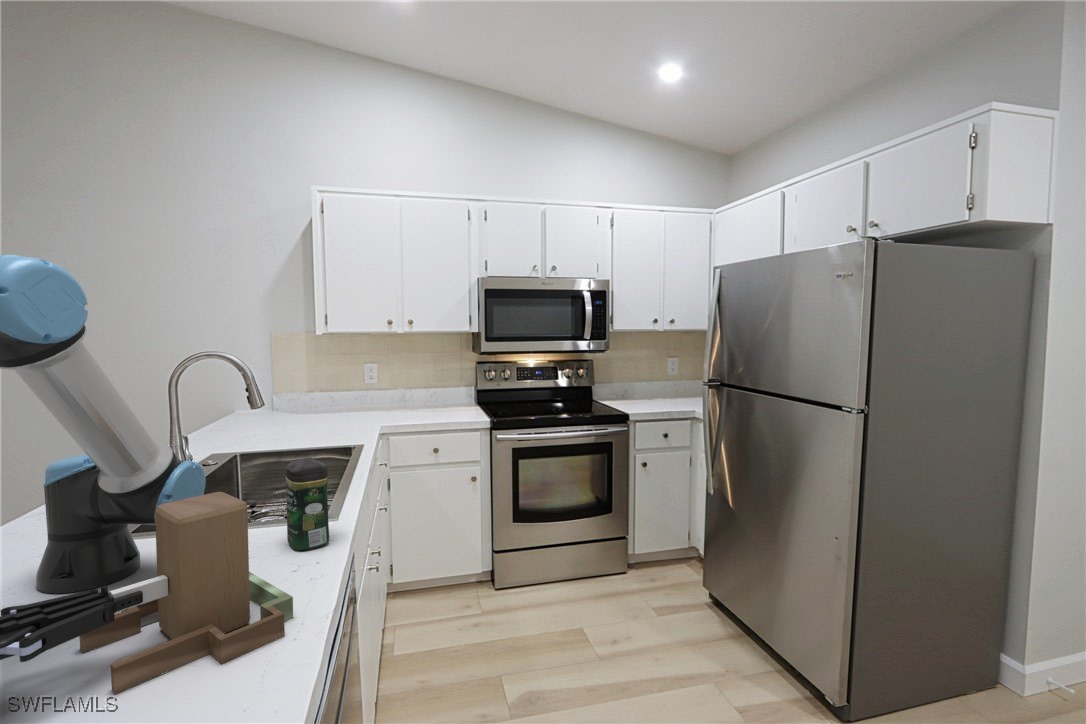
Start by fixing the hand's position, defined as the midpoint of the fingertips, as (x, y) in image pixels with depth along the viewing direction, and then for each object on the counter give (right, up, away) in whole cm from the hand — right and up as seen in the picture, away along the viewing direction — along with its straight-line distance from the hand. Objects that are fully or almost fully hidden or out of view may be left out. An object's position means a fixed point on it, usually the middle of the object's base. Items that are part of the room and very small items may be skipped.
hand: (165, 585), depth 80 cm
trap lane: (+1, -9, +3) cm, 9 cm away
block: (+3, -9, +5) cm, 11 cm away
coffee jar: (+4, -7, +39) cm, 39 cm away
